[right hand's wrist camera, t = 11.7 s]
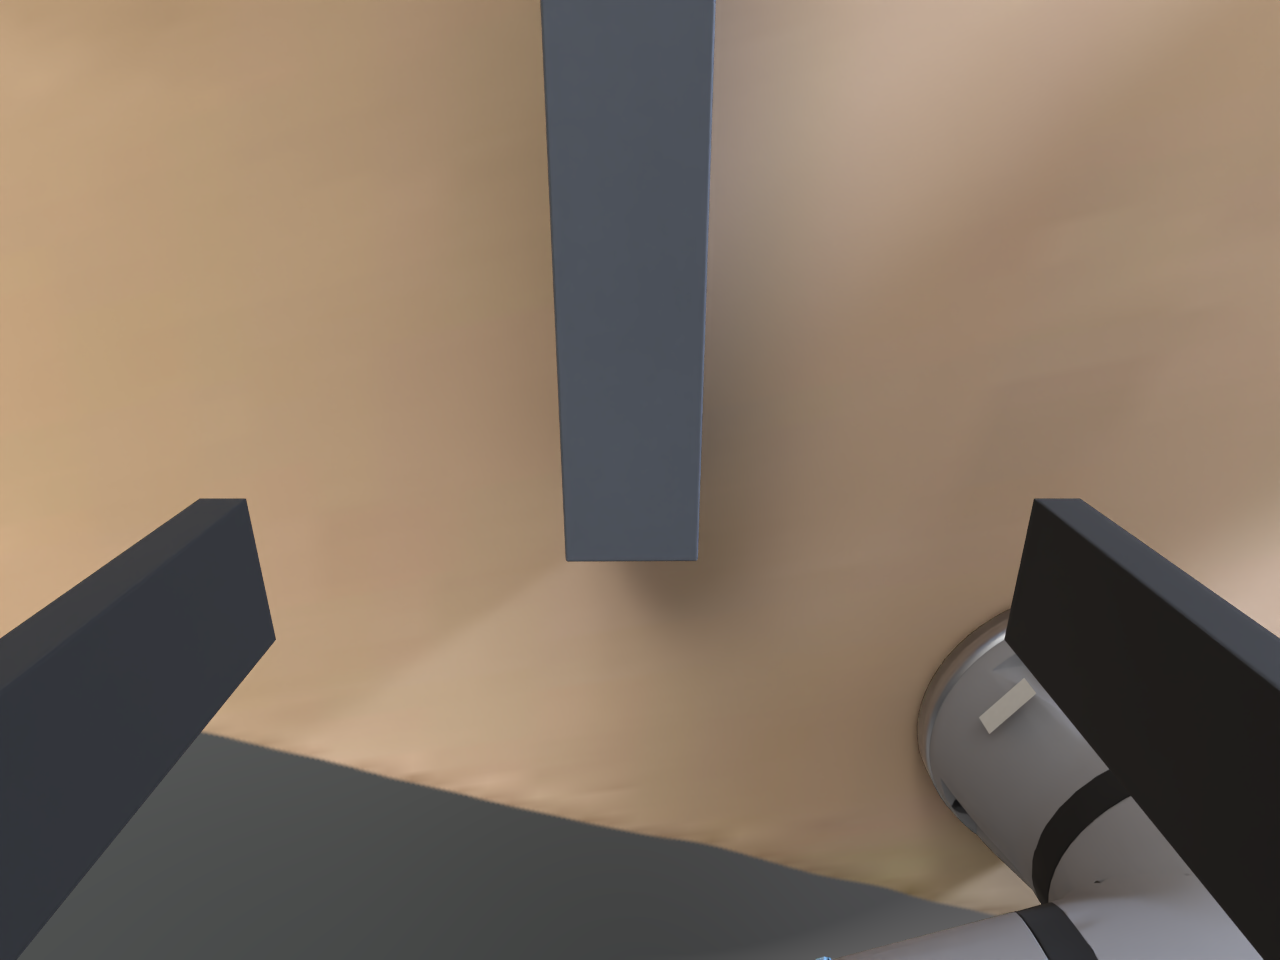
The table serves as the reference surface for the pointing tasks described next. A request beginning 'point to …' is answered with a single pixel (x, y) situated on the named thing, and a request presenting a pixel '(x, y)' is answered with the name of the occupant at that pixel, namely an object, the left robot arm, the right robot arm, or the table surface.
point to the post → (629, 267)
